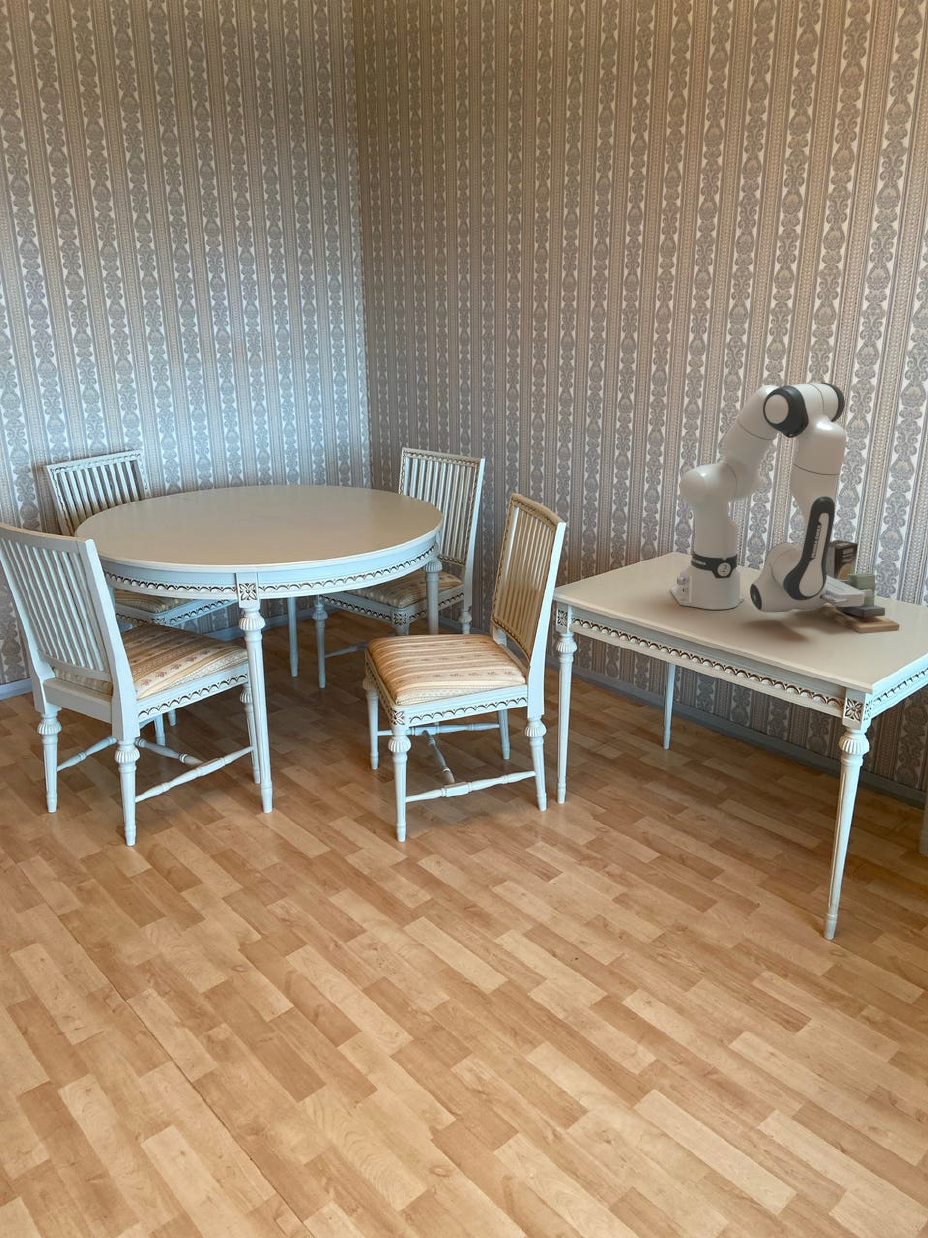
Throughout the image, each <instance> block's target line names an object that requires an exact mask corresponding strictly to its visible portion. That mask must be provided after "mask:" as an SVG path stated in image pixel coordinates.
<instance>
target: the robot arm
mask: <svg viewBox="0 0 928 1238" xmlns="http://www.w3.org/2000/svg"><path fill="white" fill-rule="evenodd" d="M845 406H846V400H845V395H844V393H843V391H842V390H841V389H840V388H839V387H838V386H836V385H835V384H832V383H827V382H801V383H798V384H791V385H787V384H786V385H783V386H782V385H781V386H778V385H773V384H766V385H763V386H761V387H759V388H758V389H757V390H756V391H755V392H754V393H753V395H751V396H750V398H749V399H748V400H747V401H746V403H745V404H744V406H743V407H742V409H740V411H739V413H738V415H737V416H736V418H735V419H734V421H733V422H732V424H731V426H730V428H729V429H728V431H727V432H726V434H725V436H724V437H723V442H722V443H723V447H724V450H725V454H724V456H723V458H722V459H721V460H720V461H717V462H715V463H709V464H703V465H697V466H696V467H694V468H692V469H690V470H687V471H686V472H685V473H683V475H682V476H681V478H680V481H679V494H680V497H681V498H682V500H683V501H684V502H685V503H686V504H687V505H688V506H689V507H690V510H691V512H692V514H693V518H694V522H695V542H694V543H695V545H694V551H691V553H692V554H691V560H690V564H689V565H688V566H687V567H685V568H684V569H683V570H682V571H681V572H680V573H679V576H678V577H677V578H676V584H677V585H674V586H671V587H670V588H669V591H670V593H671V594H672V596H673V597H674V598H675V600H676V601H677V602H678V604H679V605H680V606H685V607H694V608H697V609H699V608H700V609H705V610H729V609H733V608H735V607H737V606H739V605H740V603H742V602H744V600H745V598H744V596H743V595H741V573H740V571H739V570H738V569H737V568H738V561H739V559H738V554H737V548H738V547H737V545H738V536H739V535H738V534H739V533H738V532H739V528H738V524H737V523H736V522H735V521H734V520H733V519H731V518H730V515H729V511H728V504H729V503H733V502H738V501H742V500H744V499H747V498H749V497H751V496H752V495H754V494H755V493H756V492H757V491H758V490H759V488H760V485H761V479H762V477H761V472H760V470H759V467H760V464H761V462H762V460H763V458H764V456H765V455H766V453H767V451H768V450H769V448H770V447H771V445H772V443H774V440H775V439H776V437H777V436H778V434H779V433H781V434H782V435H784V436H785V437H786V438H788V439H794V438H796V440H797V450H796V452H795V456H794V459H793V463H792V465H791V470H790V473H789V474H790V476H789V491H790V492H791V495H792V497H793V499H794V500H795V502H796V504H797V507H798V508H799V509H800V512H801V514H802V518H803V523H804V531H803V536H802V541H801V545H800V546H801V547H798V546H797V545H796V544H794V543H793V542H781V543H778V544H776V545H775V546H773V547H772V548H770V550H769V551H768V552H767V554H766V556H765V560H764V561H765V563H764V565H763V568H762V571H761V572H760V574H759V576H758V577H757V578H756V579H755V580H754V581H753V582H752V583H751V585H750V587H749V588H750V589H749V595H750V600H751V602H752V604H753V605H754V607H755V608H756V610H758V611H759V612H763V613H787V612H791V611H793V610H798V611H807V610H808V611H809V610H816V609H820V608H822V607H823V606H824V604H825V603H827V602H828V603H830V604H831V605H833V606H837V607H857V606H862V605H863V604H864V598H865V597H870V596H872V590H871V589H868V588H867V589H863V590H861V591H860V590H858V589H856V588H854V587H852V586H850V585H847V580H838V579H834V578H832V577H830V576H828V575H827V574H826V558H827V553H828V548H829V543H830V542H831V536H832V533H833V527H834V523H835V522H834V521H835V514H836V511H835V510H836V505H835V504H836V503H835V502H836V492H837V486H838V481H839V477H840V473H841V471H842V467H843V463H844V459H845V453H846V447H847V433H846V431H845V429H844V428H843V427H842V426H841V425H839V424H838V423H837V422H836V421H838V420H839V419H840V418H841V416H842V415H843V413H844V410H845ZM835 422H836V423H835Z"/></svg>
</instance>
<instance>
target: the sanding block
mask: <svg viewBox="0 0 928 1238" xmlns="http://www.w3.org/2000/svg"><path fill="white" fill-rule="evenodd" d="M847 585H850V586H852V587H854V588H856V589H858V590H860V591H861V590H863V589H867V588H868V589H871V590H872V596H870V597H865V598H864V604H863V605H862V606H857V607H837V606H836V610H839V611H843V612H846V613H850V614H853V615H857V616H860V617H864V618H865V617H876V616H884V617H886V608H885V607H883V606H880V605H879V606H878V605H876V604H875V597H876V596H875V593H876V592H875V591H876V574H873V573H872V574H871V573H867V572H859V573H858V572H857V573H854V574H848V578H847Z"/></svg>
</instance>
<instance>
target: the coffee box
mask: <svg viewBox="0 0 928 1238" xmlns="http://www.w3.org/2000/svg"><path fill="white" fill-rule="evenodd" d="M858 546H859V543H857V542H851V541H845V540H842V539H841V540H840V539H837V540H830V543H829V548H828V553H827V558H826V574H827V575H828V576H830V577H832V578H834V579H838V580H847V578H848V574H855V569H856V560H857V555H858ZM827 603H828V602H827Z"/></svg>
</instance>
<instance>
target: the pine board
mask: <svg viewBox="0 0 928 1238" xmlns="http://www.w3.org/2000/svg"><path fill="white" fill-rule="evenodd" d="M815 610H816V611H818V612H820V613H822V614H824V615H825V616H827V617H828V618H831V619H833V620H835V621H836V622H838V623H840V624H842V625H844V626H846V627H848V628H850V629H851V630H853V631H855V632H856V633H857V634H870V633H880V632H889V631H888V630H893V631H897V630H896V629H899V630H900V626H901V625H900V623H898V622H895V621H893V620H891V619H889V618H888V617H886V616H876V617H865V618H864V617H860V616H857V615H853V614H850V613H846V612H843V611H839V610H836V606H833V605H831V604H830V603H825V604H824V606H823V607H822V608H820V609H815Z"/></svg>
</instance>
